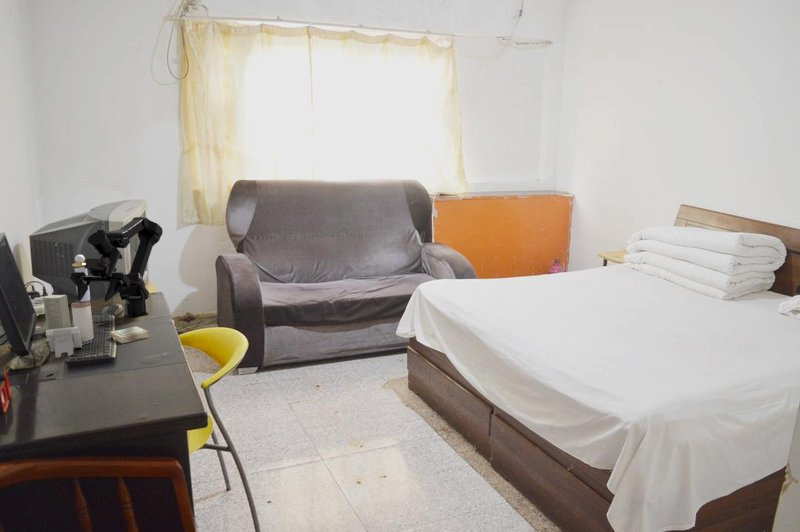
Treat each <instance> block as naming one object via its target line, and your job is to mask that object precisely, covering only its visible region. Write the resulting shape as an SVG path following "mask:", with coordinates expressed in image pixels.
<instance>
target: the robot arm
mask: <svg viewBox="0 0 800 532" xmlns="http://www.w3.org/2000/svg"><path fill="white" fill-rule="evenodd" d="M136 235H137V237H138V240H139V244H138V245H137V250H136V252H135V255H134V258H133V261H132V264H131V268H130V269H129V270H130V271H129V272H128V273H127V274H126V273H125V272H122V271H120V272H119V271H117V270H118V269H117V268H116V266H117V265H118V261H119V260H122V259H123V255H122V253H121V251H120V250H119V249H126V248H127V247H129V245H130V243H131V239H132V238H133V237H134V236H136ZM162 236H163V228H162V227H161V225H160V224H159V223H156V222H154V221H152V220H150V219H149V218H148V217H145V216H142V217H141V216H135V217H133V218H132V219H131V220H130V221H128V222H127V223H126V224H125V225H124V226H122V227H121V228H119V229H115V230H114V229H113V230H110V231H105V230H104V229H97V231H96V232H93V233H92V234H91V235H89V236H88V238H87V243H88V244H89V246H90V247H91V248H92V249H93V250H94V251H95V253H96V254H98V255H100V256H99V258H85V261H84V262H85V266H83V267H84V268H85V269H86V268H87V270H88V272H89V273H90V275H88V276H87V275H86V274H85V273H84V272H75V271H73V272H71V273H70V274H69V275H70V276H69V279H70V281H72V283H73V284H74V285H75V287H76V286H77V288H76V296H77V297H76V298H77V302H80V301H81V300H82V298H83V297H84V295H85V293H86V292H87V290H88V287H87V286H89V287H90V284H91V283H109V286H108V288H107V290H106V293H105V297H104V299H103V300H104V302H105V303H106V302H108V301H109V300H110V299H112V298H113V297H114V296H116V295H117V294H119V296H120V299H121V301H124V302H125V303H124V304H123V305H124V315H125V316H128V317H130V318H135V317H141V316H146V315H149V312H147V305H146V304H147V303H146V300H148V299H149V297H150V292H149V290H148V289H147V288H146V282H145V280H144V274H145V271H146V269H147V265H148V262H149V260H150V259H149V258H150V256H151V252H152V249H153V247H154V246H155V245H156V244H157V243H158V242H159V241H160V239H161V237H162Z"/></svg>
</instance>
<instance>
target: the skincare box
mask: <svg viewBox="0 0 800 532" xmlns="http://www.w3.org/2000/svg"><path fill="white" fill-rule="evenodd" d="M42 301H43V307H44V308H43V309H44V314H45V315H44V316H45V322H46V327H47V329H46V330H50V329H60V328H70V327H72V322H71V316H70V311H69V310H70V309H69V304H68V295H67V294H50V295H47V296H43V297H42Z"/></svg>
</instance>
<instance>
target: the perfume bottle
mask: <svg viewBox="0 0 800 532" xmlns="http://www.w3.org/2000/svg"><path fill="white" fill-rule="evenodd" d="M85 260H86V257H85V256H84V255H83V254H77V255H76V256H74V261H75V263H72V264H71V265H72V267H74V272H84V273H85V274H86V275H87V276H89V274H88V269H87V268H86V269H85V268H84V266H85ZM75 267H76V268H75ZM87 287H88V290H87V292H86V293H85V295H84V297H83V298H82V300H81V301H89V302H90V300H91V293H90V285H89V286H87ZM75 288H76V289H77V286H76V285H75Z"/></svg>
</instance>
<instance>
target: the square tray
mask: <svg viewBox="0 0 800 532" xmlns="http://www.w3.org/2000/svg"><path fill="white" fill-rule="evenodd" d="M109 334H111V335H112V336H113V337H114V338H115V340H114V341H116V342H119V343H120V344H125V343H129V342H134V341H138V340H143V339H147V338H148V339H149V338H150V331H148V330H146V329H145V328H142V327H139V326H132V327H127V328H124V329H123V328H122V329H118V330H114V331H113V330H112V331H110V332H109Z"/></svg>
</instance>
